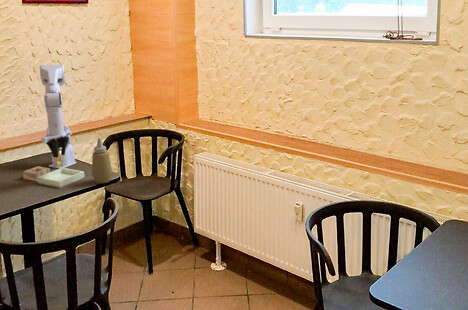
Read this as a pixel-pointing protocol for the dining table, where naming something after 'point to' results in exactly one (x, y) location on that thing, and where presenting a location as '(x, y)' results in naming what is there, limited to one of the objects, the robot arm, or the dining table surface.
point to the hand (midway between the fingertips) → (59, 155)
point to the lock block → (35, 173)
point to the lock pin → (59, 157)
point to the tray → (60, 177)
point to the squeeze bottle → (101, 164)
